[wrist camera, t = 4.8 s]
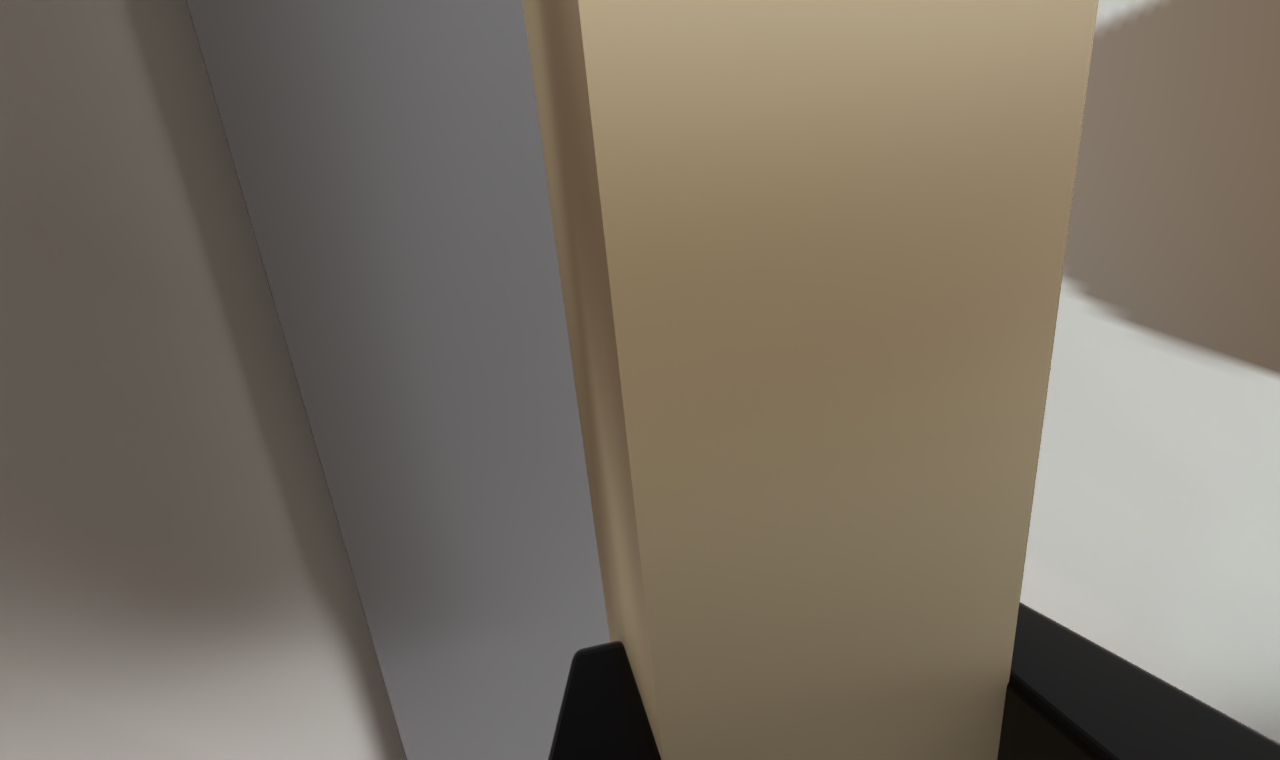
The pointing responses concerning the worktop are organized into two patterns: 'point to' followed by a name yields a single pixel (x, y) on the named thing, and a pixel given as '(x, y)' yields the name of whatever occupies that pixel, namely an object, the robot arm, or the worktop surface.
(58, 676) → the worktop surface
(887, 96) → the stick
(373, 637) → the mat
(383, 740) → the worktop surface
